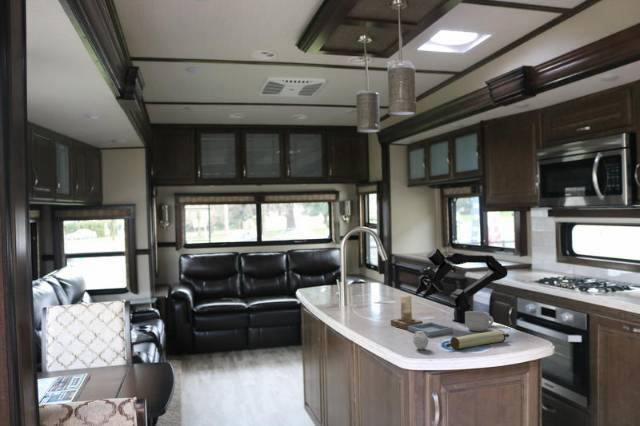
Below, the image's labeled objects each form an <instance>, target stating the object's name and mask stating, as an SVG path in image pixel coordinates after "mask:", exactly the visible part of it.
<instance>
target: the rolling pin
mask: <svg viewBox="0 0 640 426" xmlns="http://www.w3.org/2000/svg"><path fill="white" fill-rule="evenodd" d="M509 336H510V334H509V333H505V332H504V331H503V330H502V329H498V330H492V331H486V332H481V333H479V332H478V333H472V334H467V335H462V336H457V337H455V336H453V337H451V338H450V343H449V342H448V343H446V344H445V347H446V348H450V347H451V348H452V349H453V350H455V351H457V350H460V349H465V348H471V347H476V346H481V345H487V344H495V343H500V342H501V343H503V342H505V341H506V338H508V337H509Z"/></svg>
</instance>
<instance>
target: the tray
mask: <svg viewBox="0 0 640 426" xmlns="http://www.w3.org/2000/svg"><path fill="white" fill-rule="evenodd" d="M418 331H423V332H424V333H425V334H426V336H427V338H433V337H438V336H443V335H447V334H448V335H449V334H452V333H453V327H450V326H448V325H447V326H446V325H443V324H439V323H436V322H432V321H431V322H430V321H429V322H424V323H422V324H417V325H411V326H408V329H407V332H411V333H413V334H415V333H416V332H418Z"/></svg>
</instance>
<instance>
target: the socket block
mask: <svg viewBox="0 0 640 426" xmlns="http://www.w3.org/2000/svg"><path fill="white" fill-rule="evenodd" d="M422 323H423V320H419V319H417V318H416V319H415V318H412V322H407V323H405V322H401V317H400V318H395V319H390V326H394V327H397V328H399V329H403V330H408V326H411V325H417V324H422Z"/></svg>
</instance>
